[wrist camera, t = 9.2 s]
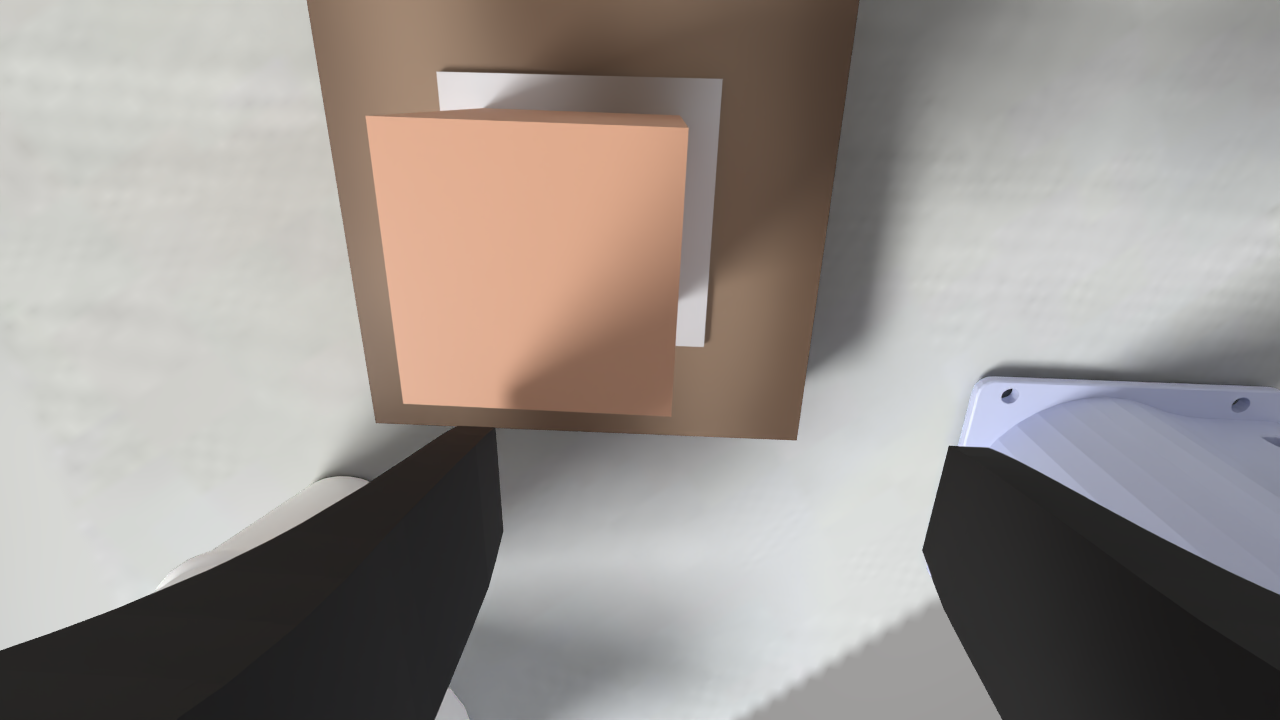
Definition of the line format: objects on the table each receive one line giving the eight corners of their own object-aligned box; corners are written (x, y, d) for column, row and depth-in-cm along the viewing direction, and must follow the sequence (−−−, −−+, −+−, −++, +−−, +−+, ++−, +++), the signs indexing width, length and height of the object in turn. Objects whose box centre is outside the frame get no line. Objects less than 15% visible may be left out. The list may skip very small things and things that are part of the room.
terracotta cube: (680, 115, 14) (688, 128, 9) (669, 304, 16) (671, 416, 10) (482, 108, 14) (365, 115, 9) (494, 296, 16) (403, 404, 10)
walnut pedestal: (832, -39, 15) (871, -70, 13) (778, 393, 20) (797, 443, 17) (358, -48, 16) (288, -81, 13) (414, 379, 20) (372, 426, 18)
